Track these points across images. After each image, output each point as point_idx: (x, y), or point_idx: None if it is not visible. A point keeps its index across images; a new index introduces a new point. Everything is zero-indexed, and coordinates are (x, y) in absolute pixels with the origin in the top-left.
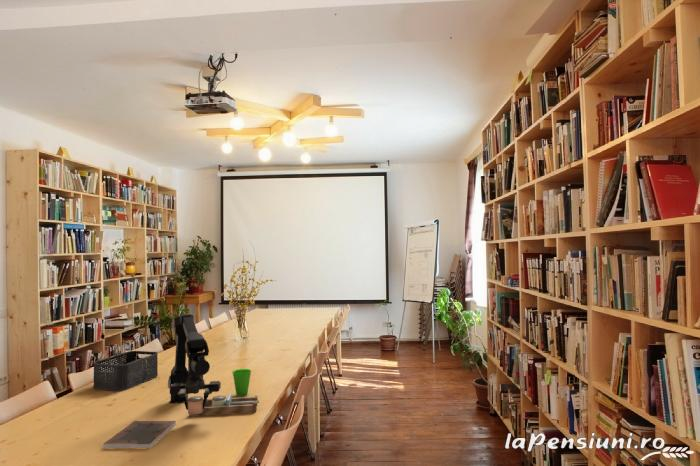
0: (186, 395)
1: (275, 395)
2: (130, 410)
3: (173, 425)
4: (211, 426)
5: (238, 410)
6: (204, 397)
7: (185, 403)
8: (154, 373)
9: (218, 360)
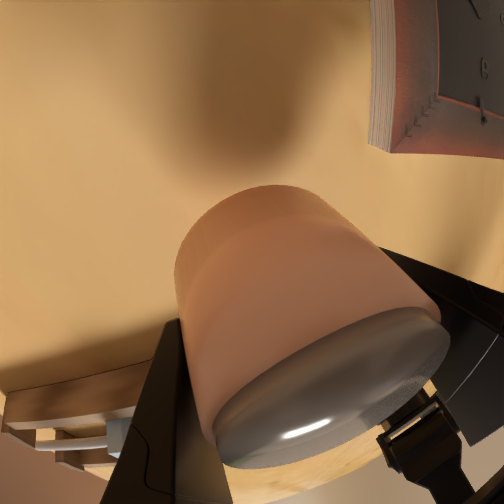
0: (493, 378)
1: (85, 468)
2: (491, 276)
3: (380, 102)
4: (36, 161)
5: (51, 397)
6: (155, 487)
7: (442, 278)
8: (426, 412)
9: (325, 472)
